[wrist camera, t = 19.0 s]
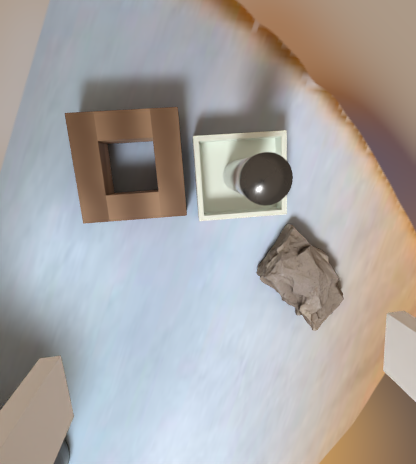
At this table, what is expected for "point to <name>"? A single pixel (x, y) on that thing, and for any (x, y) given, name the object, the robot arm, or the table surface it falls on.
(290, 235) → the rock
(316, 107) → the table surface
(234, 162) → the capped bottle
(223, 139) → the tray
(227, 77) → the table surface
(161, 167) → the bore block
